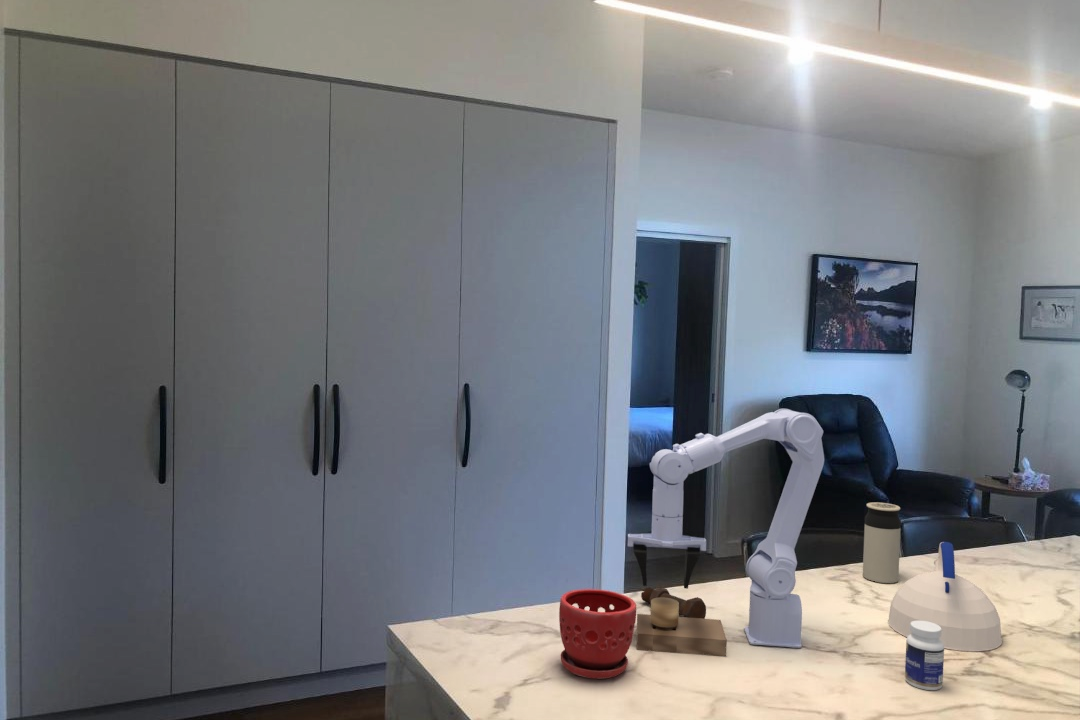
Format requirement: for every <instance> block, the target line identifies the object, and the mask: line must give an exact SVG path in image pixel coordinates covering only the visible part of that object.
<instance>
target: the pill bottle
mask: <svg viewBox="0 0 1080 720" xmlns="http://www.w3.org/2000/svg"><path fill="white" fill-rule="evenodd" d="M910 631H911V632H912V634H910V635H909V636H908V637H906V642H905V643H906V644H905V663H904V664H905V665H904V668H905V669H904V679H905V681H906V682H907V683H908V684H909V685H910V686H912V687H915V688H918V689H921V690H927V691H938V690H940V689H941V688H943V684H944V681H943V680H944V660H945V659H944V656H945V649H944V644H943V642H942V641H941V640H940V639H939V637H941V627H940V626H939V625H937V624H934V623H931V622H927V621H912V622H911V624H910Z"/></svg>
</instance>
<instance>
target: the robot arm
mask: <svg viewBox="0 0 1080 720" xmlns="http://www.w3.org/2000/svg"><path fill="white" fill-rule="evenodd" d="M823 434H824V430H823V428H822V427H821V425H820V424H819V422H818V421H817V419H816V418H815V417H814V415H812V414H810V413H807V412H800V411H795V410H792V409H789V408H779V409H777V410H775V411H774V412H773V411H771V412H766V413H764V414H762V415H760V416H757V418H754V419H752V420H749V421H748V422H746V423H743V424H742V425H739V426H737V427H735V428H733V429H730V430H728V431H726V432H723V433H722V434H719V435H717V436H715V435H713V434H710V433H705V434H704V433H702V432H699V433H696V434H695V435H694V436H695V438H693V439H692V440H688V441H685V442H684V443H681V444H679V443H675V444H673V445H672V450H671V449H667V448H665V449H664V448H663V449H660V450H659V451H657V452H655V453H654V455H653V456H652V458H651V462H649V469H650V471H651V473H652V474H653V487H652V488H653V489H652V502H651V503H652V504H651V505H652V510H651V513H652V514H651V533H628V534H627V547H632V550H633V554H634V557H635V559H636V561H637V563H638V567H639V570H640V573H641V578H642V580H641V581H642V586H643V587H647V586H648V585H647V584H648V582H647V581H648V579H647V559H648V558H647V557H648V553H647V552H648V551H647V548H648V547H649V548H651V547H652V548H663V549H664V548H668V549H681V550H682V549H684V552H685V553H684V554H685V555H684V573H683V588H684V589H686V590H687V589H689V584H690V580H691V577H692V573H693V571H694V569H695V567H696V565H697V563H698V561H699V559H700V558H701V552H706V551H707V539H706V538H705V537H697V536H690V535H683V523H684V522H683V519H684V517H683V515H684V481H685V480H686V479H687V478H688V476H689V475H691V474H693V473H695V472H698V471H701V470H703V469H706V468H708V467H710V466H713V465H715V464H717V463H720V462H721V461H722V459H723V457H724V455H725V453H727V452H730V451H732V450H736V449H738V448H741V447H744V446H746V445H749V444H750V445H751V444H752V443H756V442H757V441H758V442H759V441H761V440H763V439H764V440H772V441H777V442H778V443H780V444H781V445H782V446H783V447H784V449H785V451H786V453H787V454H788V455H789V457H790V460H791V461H792V463H791V466H790V469H789V472H788V475H787V478H786V481H785V484H784V486H783V489H782V493H781V494H780V495H781V496H780V498H779V501H778V504H777V507H776V510H775V512H774V516H773V518H772V521H771V524H770V527H769V530H768V532H767V535H766V537H765V538H764V539H763V540H762V541H760V542H759V543H758V545H757V547H756V550H755V551H754V552H753V554H752V555H751V556H749V558H748V560H747V562H746V565H745V567H746V568H745V571H746V574H747V576H748V577H749V580H751V585H750V587H749V610H748V613H749V615H748V626H744V627H743V630H744V632H745V635H746V638H747V641H748V643H749V644H750V645H757V646H771V647H783V648H795V649H796V648H797V649H801V648H802V626H803V623H802V620H803V609H802V608H803V607H802V600H801V597H800V595H799V594H797V593H792V592H793V591H794V588H795V586H796V581H797V580H796V568H797V565H798V561H797V556H796V553H795V548H796V545H797V543H798V540H799V537H800V533H801V531H802V527H803V525H804V523H805V520H806V516H807V513H808V510H809V507H810V505H811V502H812V499H813V496H814V493H815V490H816V487H817V484H818V483H819V479H820V476H821V473H822V470H823V469H824V468H823V467H824V465H825V454H824V447H823V441H822V437H823Z"/></svg>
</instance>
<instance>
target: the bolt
mask: <svg viewBox="0 0 1080 720" xmlns="http://www.w3.org/2000/svg"><path fill="white" fill-rule="evenodd" d="M640 597H641V600H642V601H643V602H645V603H646V604H650V605H651V600H652V599H654V598H659V597H664V598H671V599H674V600H676V601H678V602H679V616H680V617H688V618H702V619H706V615H707V606H706V604H705V602H704V600H703V599H702V598H700V597H698V596H697V597H692V598H690V599H683V598H681V597H677V596H675V595H672V594H670V592H669V590H668V589H667V588H666V587H658V588H657V587H656V588H651V587H646V588H643V589H642V592H641V595H640Z"/></svg>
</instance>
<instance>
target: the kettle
mask: <svg viewBox="0 0 1080 720" xmlns="http://www.w3.org/2000/svg"><path fill="white" fill-rule="evenodd" d="M937 555H938V557H937V558H936V559H935V560H934V562H933V565H934V571H930V572H928V571H927V572H921V573H919V574H917V575H915V576H913V577H911V578H909V579H907V580H906V581H905V582H904V583H903V584H901V585H900V586H899V587H898V588H897V590H896V592H895V593H894V595H893V597H892V599H891V602H890V606H889V607H890V608H889V612H888V613H889V614H888V618H887V619H888V620H887V623H888V625H889V626H890V628H891V629H892V630H894V631H895V632H896V633H897V634H900V635H901V636H903V637H905V638H907V637H908V636H909V635H910V634H912V632H911V631H910V624H911V622H912V621H927V622H931V623H934V624H937V625H939V626H940V627H941V637H939V639H940V640H941V641H942V642H943V644H944V650H952V651H957V652H958V651H960V652H973V653H975V652H977V653H978V652H988V651H992V650H995V649H997V648H998V647H1000V646H1001V645H1003V639H1002V630H1001V628H1002V627H1001V618H1000V616H999V612H998V611H997V608H996V606H995V604H994V603H993V601H992V600H991V599H990V598H989V597H988V595H987V594H986V593H985V592H984V590H982V589H981V588H980V587H979V586H978V585H976V584H975V582H972V581H971V580H969V579H967V578H964V577H963V576H961V575H958V574H956V569H955V568H956V567H955V566H956V565H955V551H954V545H953V544H952V543H951V542H949V541H942V542H940V543H939V547H938V554H937Z"/></svg>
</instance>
